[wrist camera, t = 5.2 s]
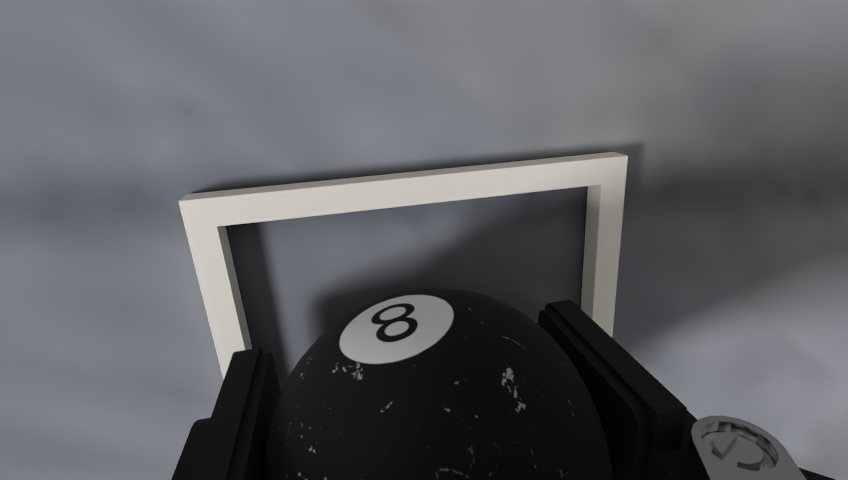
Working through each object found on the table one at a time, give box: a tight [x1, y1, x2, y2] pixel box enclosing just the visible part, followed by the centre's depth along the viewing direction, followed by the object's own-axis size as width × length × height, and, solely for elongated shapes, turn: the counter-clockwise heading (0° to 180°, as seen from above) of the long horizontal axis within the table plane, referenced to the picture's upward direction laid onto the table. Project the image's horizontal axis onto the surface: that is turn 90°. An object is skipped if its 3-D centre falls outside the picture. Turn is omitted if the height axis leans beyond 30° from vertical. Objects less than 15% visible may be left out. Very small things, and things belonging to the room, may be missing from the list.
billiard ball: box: [265, 289, 612, 480], centre depth 9 cm, size 6×6×6 cm
